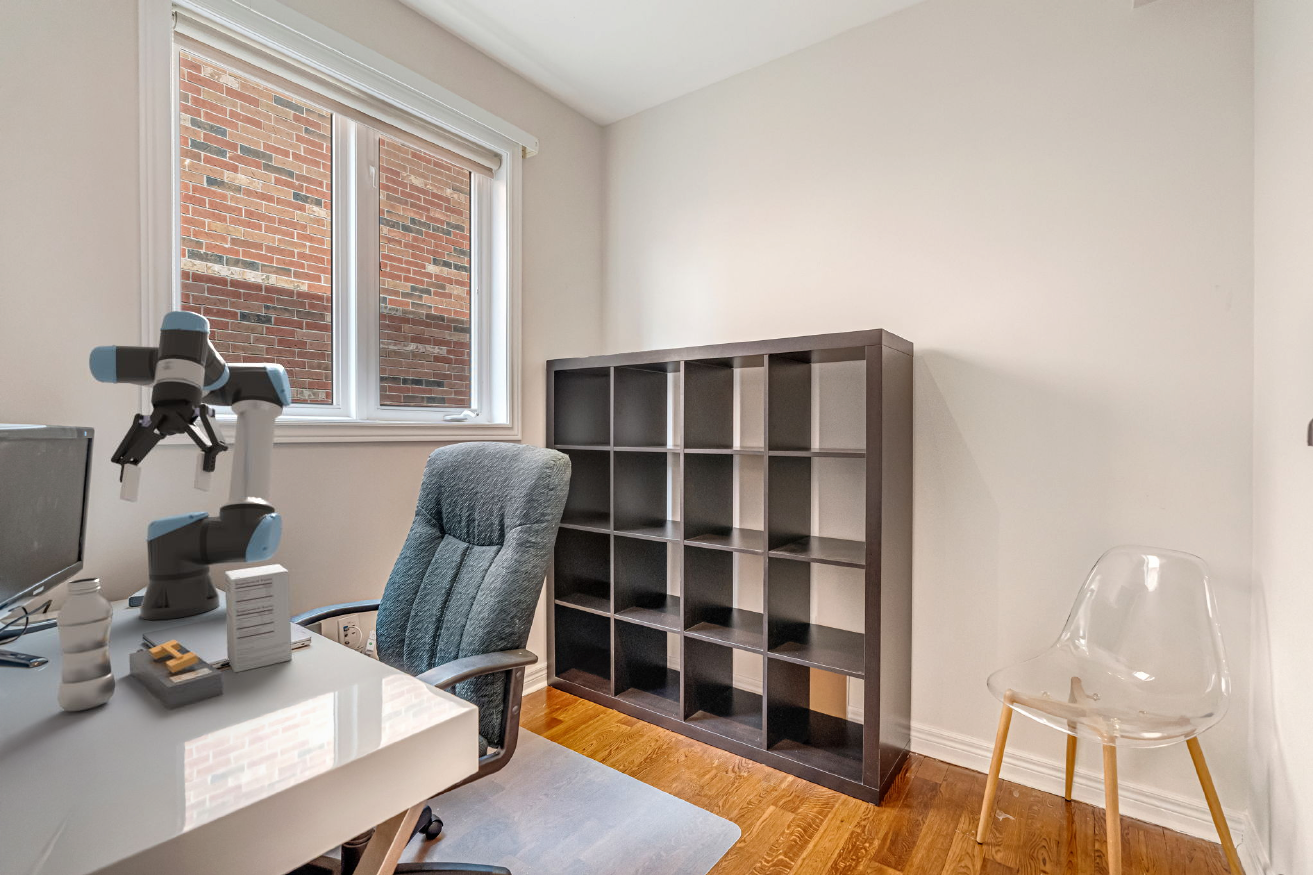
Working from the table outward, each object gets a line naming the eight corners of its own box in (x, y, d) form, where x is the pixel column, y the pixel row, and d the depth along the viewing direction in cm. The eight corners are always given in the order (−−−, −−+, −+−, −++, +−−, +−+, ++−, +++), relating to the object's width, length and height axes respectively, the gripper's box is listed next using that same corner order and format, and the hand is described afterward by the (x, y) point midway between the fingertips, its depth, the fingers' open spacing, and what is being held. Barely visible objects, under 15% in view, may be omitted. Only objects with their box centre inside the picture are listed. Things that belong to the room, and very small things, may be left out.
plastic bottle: (50, 711, 96) (45, 583, 95) (105, 694, 102) (101, 573, 101) (68, 720, 93) (63, 587, 92) (124, 702, 99) (119, 577, 98)
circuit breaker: (116, 660, 117) (115, 641, 116) (162, 649, 122) (162, 631, 122) (169, 709, 95) (168, 686, 95) (222, 693, 101) (221, 671, 101)
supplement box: (293, 660, 115) (290, 570, 115) (233, 674, 109) (230, 579, 109) (282, 647, 123) (280, 562, 122) (226, 659, 116) (223, 570, 116)
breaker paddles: (151, 655, 108) (148, 647, 108) (175, 645, 111) (173, 637, 111) (172, 672, 100) (169, 663, 100) (198, 661, 103) (196, 652, 103)
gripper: (97, 389, 115) (77, 500, 108) (227, 370, 115) (216, 479, 108) (131, 404, 122) (116, 508, 115) (255, 385, 122) (246, 489, 115)
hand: (164, 495), depth 112 cm, fingers open, 13 cm apart
